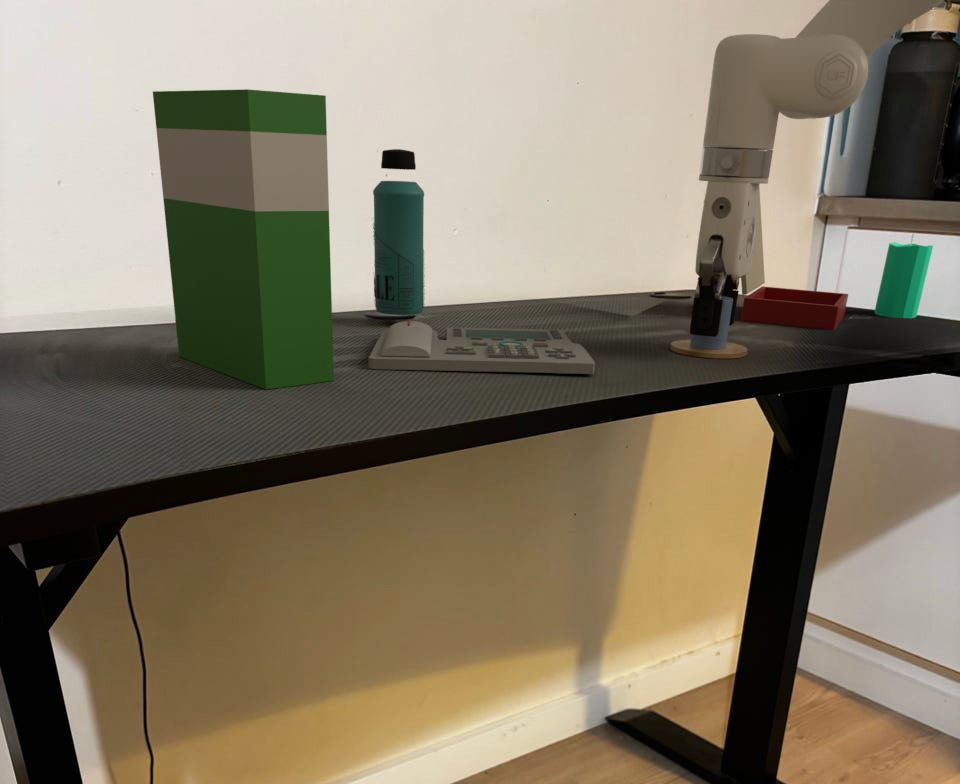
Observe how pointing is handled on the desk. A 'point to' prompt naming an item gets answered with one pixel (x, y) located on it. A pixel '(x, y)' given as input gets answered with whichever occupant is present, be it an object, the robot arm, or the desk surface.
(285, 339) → the cereal box
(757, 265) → the grey flat panel
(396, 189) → the beverage bottle
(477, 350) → the office telephone
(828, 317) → the shallow red crate
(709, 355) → the coaster
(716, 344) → the blue cylinder
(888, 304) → the candle
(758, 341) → the desk surface
